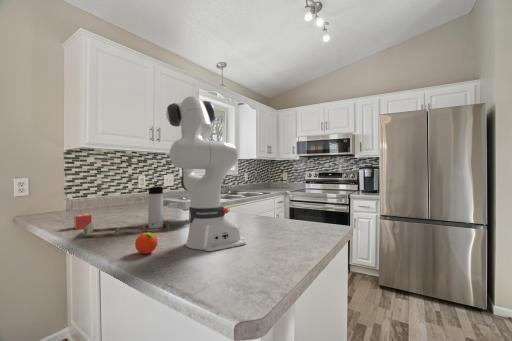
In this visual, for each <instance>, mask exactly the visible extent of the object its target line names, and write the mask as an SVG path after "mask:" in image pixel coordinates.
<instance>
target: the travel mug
mask: <svg viewBox="0 0 512 341" xmlns="http://www.w3.org/2000/svg"><path fill="white" fill-rule="evenodd" d="M163 190H164V188H163V186H156V187H148V225H149V227H148V230H152V229H164V226H163V224H164V206H163V199H164V193H163V192H164V191H163Z"/></svg>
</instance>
